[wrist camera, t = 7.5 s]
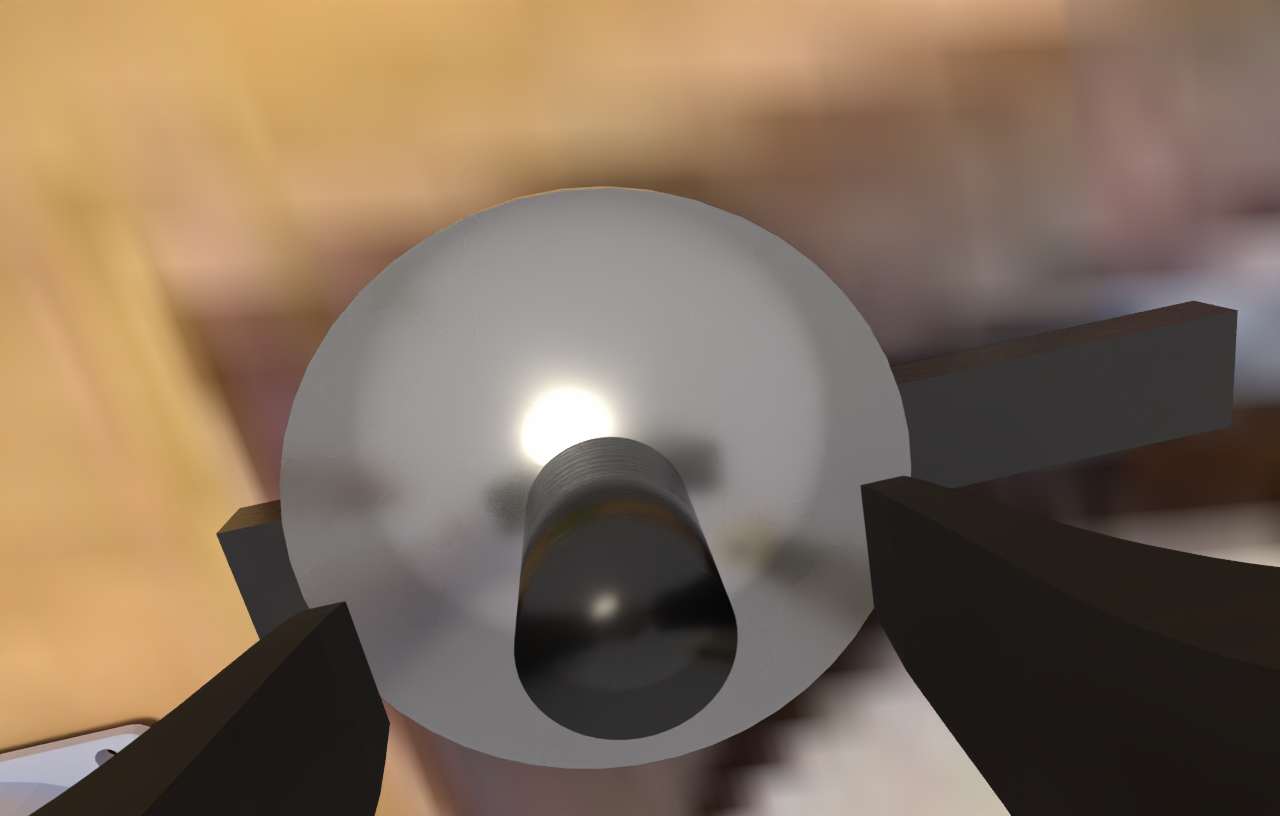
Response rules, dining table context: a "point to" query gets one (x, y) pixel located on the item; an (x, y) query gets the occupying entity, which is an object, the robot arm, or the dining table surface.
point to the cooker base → (955, 418)
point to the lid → (593, 476)
